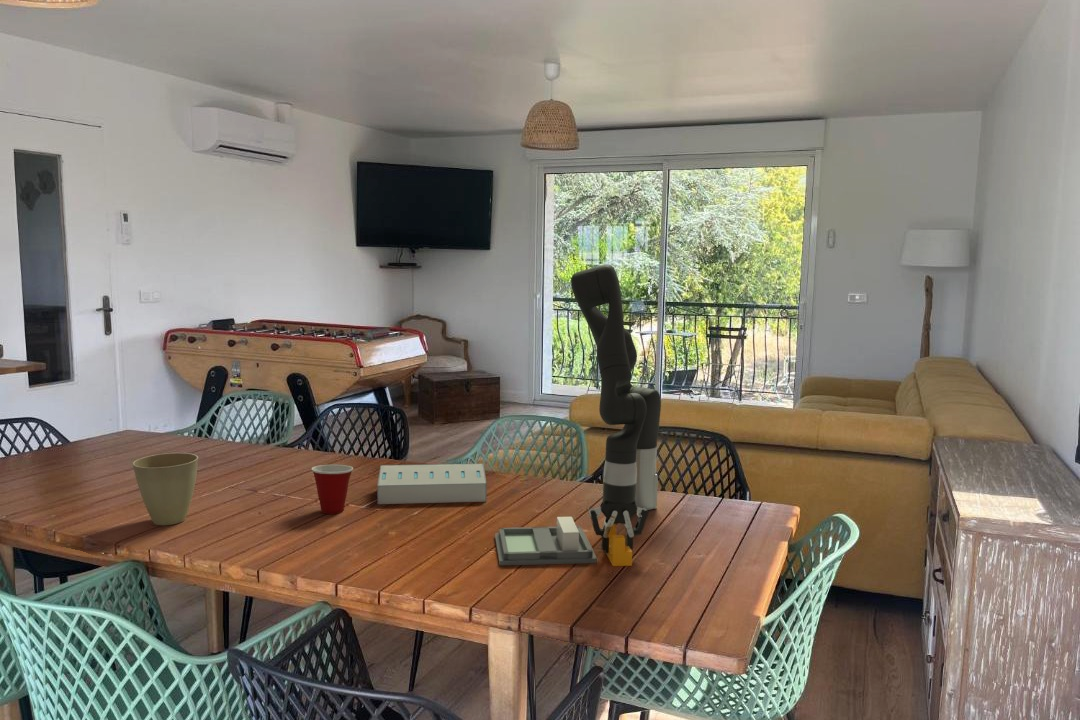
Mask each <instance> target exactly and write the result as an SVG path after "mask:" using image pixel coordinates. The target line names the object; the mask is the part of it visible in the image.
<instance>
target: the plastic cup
mask: <svg viewBox="0 0 1080 720" xmlns="http://www.w3.org/2000/svg"><path fill="white" fill-rule="evenodd" d="M311 471H312V472H313V477H314V480H315V486H316V490H317V496H318V501H319V506H320V511H321V513H323V514H327V515H334V514H335V515H336V514H340V513H342V512H344V509H345V506H346V499H347V496H348V495H347V494H348V489H349V483H350V478H351V475H352V472H353V471H354V467H353V466H351V465H344V464H322V465H321V464H320V465H316V466H312V467H311Z"/></svg>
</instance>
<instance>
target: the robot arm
mask: <svg viewBox="0 0 1080 720" xmlns="http://www.w3.org/2000/svg"><path fill="white" fill-rule="evenodd" d="M570 283H571V284H570V285H571V289H572V294H573V296H574V298H575V301H576V303H577V305H578V307H579V309H580V311H581V313H582V315H583V317H584V319H585V321H586V324H587V325H588V328H589V329H590V331H591V334H592V335H591V336H592V337H593V340H594V343H595V345H596V357H597V363H598V368H599V374H600V383H601V384H600V399H599V405H598V406H599V408H598V409H599V410H598V411H599V416H600V418H601V420H602V421H603V422H604V423H605V424H606V425H609V426H617V425H618V426H619V425H623V427H622V429H621V430H620V431H617V432H615V433H612V434H609V435H608V436H607V438H606V440H605V458H604V459H605V460H604V461H605V462H604V466H603V479H602V480H603V481H602V484H603V485H602V501H601V504H599V505H600V506H598V507H597V506H596V507H589V509H588V512H589V513H588V514H589V517H590V521H591V524H592V529H593V530H594V531H593V532H594V533H595V535H596V536H601V545H600V546H601V549H602V551H603V552H604V553H605V554H606V553H609V537H608V536H609V533H610V530H611V529H612V526H613V524H616V525H617V524H620V525H621V524H622V525H624V528H625V531H626V534H625V545H626V546H629V547H630V549H631V550H632V551H633V549H634V537H635V536H637V535H638V536H640V535H641V534H642V533H643V530H644V527H645V524H646V522H647V518H648V516H649V511H650V510H655V509H658V505H657V504H658V485H659V484H658V482H659V480H658V479H659V475H658V474H657V454H658V453H657V451H658V449H657V448H658V447H657V446H658V439H659V431H660V420H661V411H662V410H661V409H662V399H661V394H660V392H659V391H658V390H657V389H655V388H647V387H638V386H634V385H633V384H632V383H631V380H632V372H633V369H634V368H635V365H636V364H637V360H638V352H637V349H636V346H635V343H634V340H633V338H632V335H631V333H630V332H629V331H628V330H627V329H626V328H625V322H624V311H623V302H622V290H621V286H620V281H619V276H618V274H617V271H616V270H615V268H614V266H613V265H611V264H610V263H607V264H606V263H605V264H601V265H598V266H594V267H590V268H587V269H583V270H580V271H577V272H575V273H573V275H572V276H571V280H570ZM606 304H608V313H607V314H608V315H607V316H606V315H605V314H604V313H603V312H602V311H601V310H600V309H599V308H598V307H599V306H602V305H606ZM601 513H602V514H603V516H604V517H605V518H604V520H605V521H604V525H602V528H601V527H600V523H599V520H598V518H600V514H601ZM635 514H636V515H637V519H636V522H635V525H634V527H633V526H632V522H631V519H632V518H633V517H634V516H635Z"/></svg>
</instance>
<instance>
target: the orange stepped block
mask: <svg viewBox="0 0 1080 720" xmlns="http://www.w3.org/2000/svg"><path fill="white" fill-rule="evenodd" d="M604 521H605V519H604V520H603V522H602V523H603V525H604ZM603 525H602V526H603ZM608 537H609V553H605V554H606V556H607V559H608V560H609V562H610V564H611V565H612V567H628V566H630V567H632V566H633V549H632V550H631V549H630V547H629V546H626V545H625V539H626V536H624V534H617V524H613V526H612V529H611V530H610V533H609V536H608Z"/></svg>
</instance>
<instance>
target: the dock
mask: <svg viewBox="0 0 1080 720" xmlns="http://www.w3.org/2000/svg"><path fill="white" fill-rule="evenodd" d="M498 529H499V532H495V533H494V540H495V546H496V552H497V557H498V564H499V566H527V565H528V566H531V565H532V566H533V565H536V566H537V565H538V566H539V565H569V564H571V565H572V564H573V565H574V564H576V565H577V564H597V563H598V558H597V557H598V556H597V555H596V554H595V553H596V552H595V551H594V549H593V547H592V544H591V543H590V541H589V539H588V537H587V535H586V533H585V531H584V530H583V529H582V526H580V525H576V523H575V521H574V518H573V516H557V517H556V526H528V527H524V526H523V527H522V526H521V527H520V526H519V527H498Z"/></svg>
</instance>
